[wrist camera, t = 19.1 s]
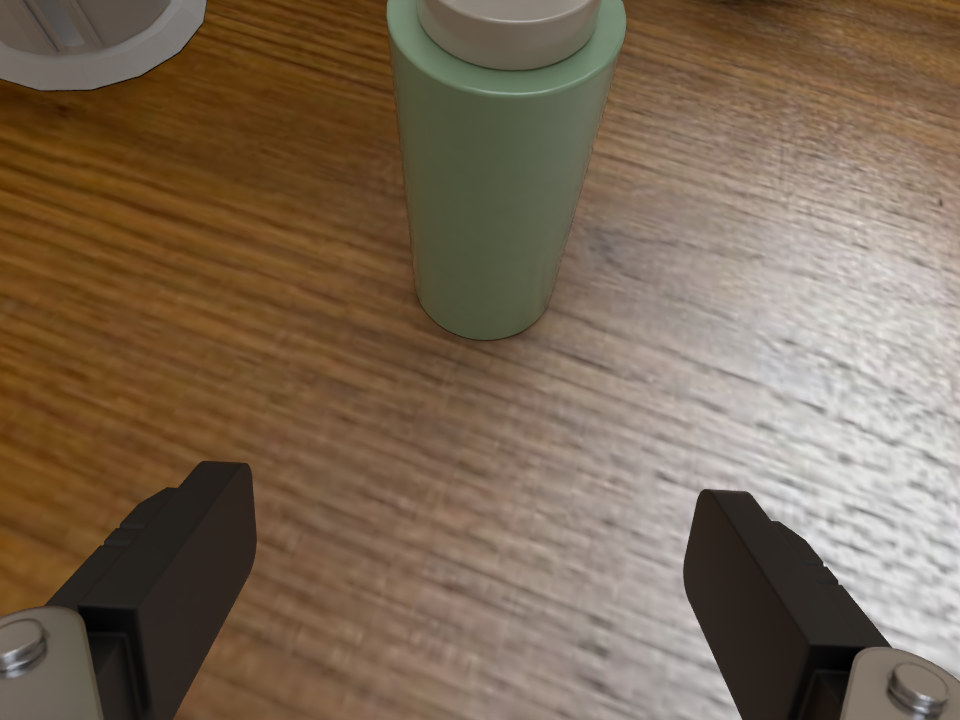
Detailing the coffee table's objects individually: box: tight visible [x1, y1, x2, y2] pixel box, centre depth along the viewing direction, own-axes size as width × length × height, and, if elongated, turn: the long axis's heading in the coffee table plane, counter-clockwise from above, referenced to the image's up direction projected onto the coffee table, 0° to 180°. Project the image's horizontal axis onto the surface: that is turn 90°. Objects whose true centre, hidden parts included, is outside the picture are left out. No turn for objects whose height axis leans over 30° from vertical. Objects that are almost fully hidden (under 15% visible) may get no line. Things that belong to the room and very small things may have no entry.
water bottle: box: [386, 0, 627, 340], centre depth 16 cm, size 5×5×11 cm
